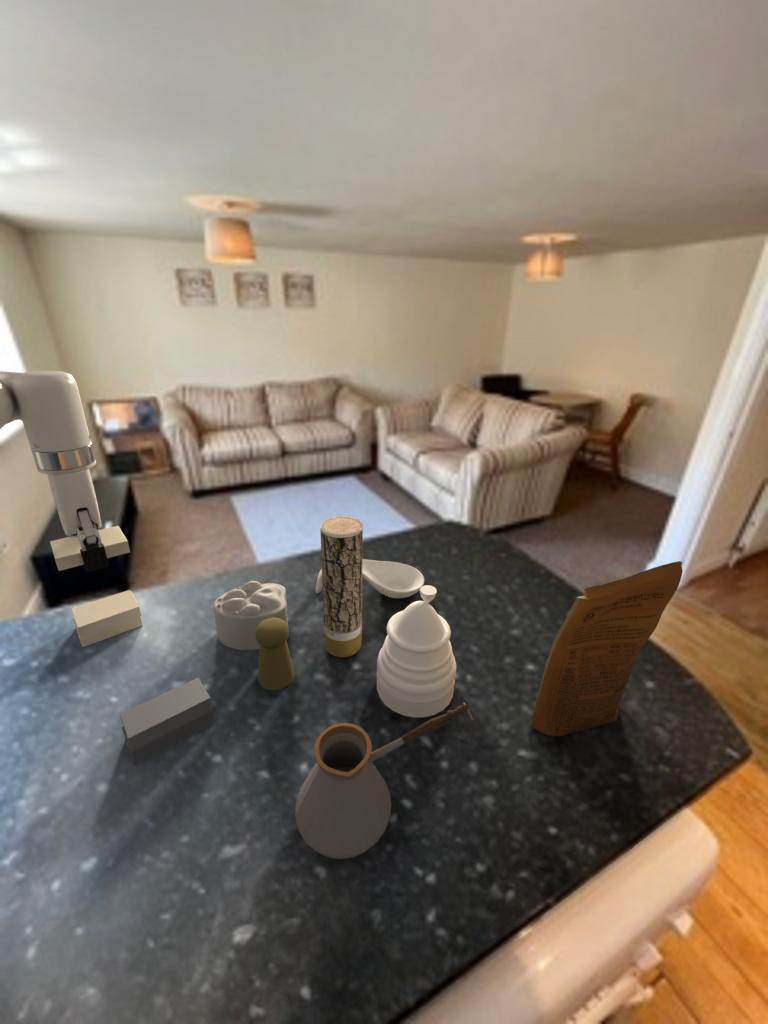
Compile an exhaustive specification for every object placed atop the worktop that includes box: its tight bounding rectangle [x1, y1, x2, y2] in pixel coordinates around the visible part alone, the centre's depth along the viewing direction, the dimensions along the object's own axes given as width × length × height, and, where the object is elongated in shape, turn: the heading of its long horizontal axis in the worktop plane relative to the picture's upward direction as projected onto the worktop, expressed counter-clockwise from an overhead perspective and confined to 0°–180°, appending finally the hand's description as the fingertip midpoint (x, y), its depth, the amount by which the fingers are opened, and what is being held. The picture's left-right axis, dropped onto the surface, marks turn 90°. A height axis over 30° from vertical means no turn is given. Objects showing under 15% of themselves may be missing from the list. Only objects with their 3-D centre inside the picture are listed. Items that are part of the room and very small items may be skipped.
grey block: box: [119, 677, 215, 765], centre depth 64 cm, size 11×5×5 cm, turn 130°
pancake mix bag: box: [528, 560, 684, 738], centre depth 63 cm, size 7×19×28 cm, turn 106°
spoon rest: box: [314, 558, 425, 599], centre depth 97 cm, size 24×12×7 cm, turn 91°
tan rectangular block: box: [70, 589, 143, 648], centre depth 85 cm, size 10×7×4 cm
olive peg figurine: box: [256, 618, 296, 691], centre depth 73 cm, size 6×6×11 cm
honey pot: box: [376, 584, 457, 718], centre depth 71 cm, size 13×13×18 cm
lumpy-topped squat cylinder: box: [212, 580, 290, 651], centre depth 84 cm, size 10×13×9 cm
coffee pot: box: [294, 702, 474, 860], centre depth 53 cm, size 21×12×15 cm, turn 106°
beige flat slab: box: [49, 525, 131, 572], centre depth 74 cm, size 10×7×2 cm
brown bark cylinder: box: [319, 515, 364, 658], centre depth 77 cm, size 7×7×25 cm
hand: (93, 557), depth 75 cm, fingers closed on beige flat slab, 7 cm apart
